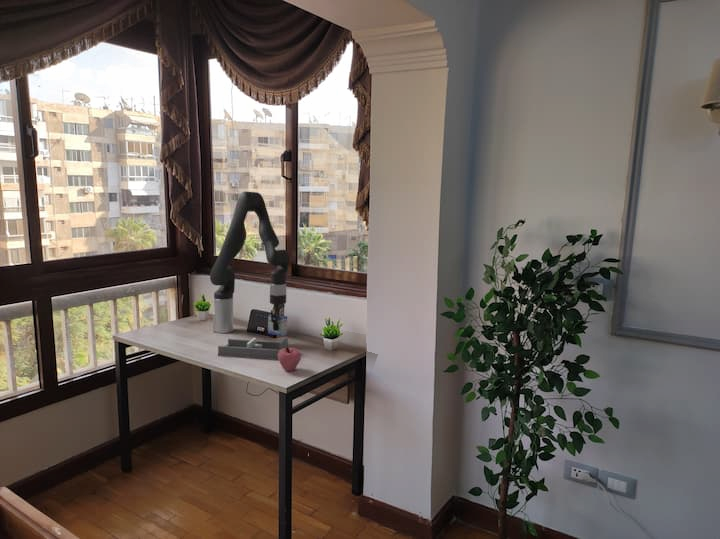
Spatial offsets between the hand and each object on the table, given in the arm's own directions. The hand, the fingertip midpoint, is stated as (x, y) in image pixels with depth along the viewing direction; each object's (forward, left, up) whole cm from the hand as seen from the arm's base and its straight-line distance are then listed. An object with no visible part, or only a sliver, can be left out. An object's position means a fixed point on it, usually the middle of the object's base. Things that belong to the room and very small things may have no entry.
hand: (277, 328), depth 246 cm
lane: (-7, -14, -8) cm, 17 cm away
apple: (+14, -32, -8) cm, 36 cm away
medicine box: (0, 0, -3) cm, 3 cm away
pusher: (-6, -14, -7) cm, 17 cm away
